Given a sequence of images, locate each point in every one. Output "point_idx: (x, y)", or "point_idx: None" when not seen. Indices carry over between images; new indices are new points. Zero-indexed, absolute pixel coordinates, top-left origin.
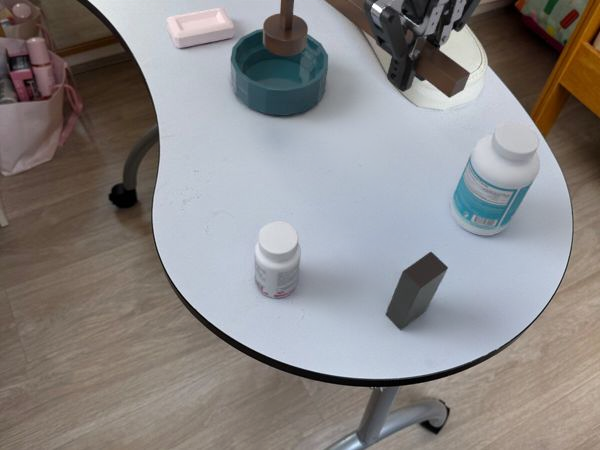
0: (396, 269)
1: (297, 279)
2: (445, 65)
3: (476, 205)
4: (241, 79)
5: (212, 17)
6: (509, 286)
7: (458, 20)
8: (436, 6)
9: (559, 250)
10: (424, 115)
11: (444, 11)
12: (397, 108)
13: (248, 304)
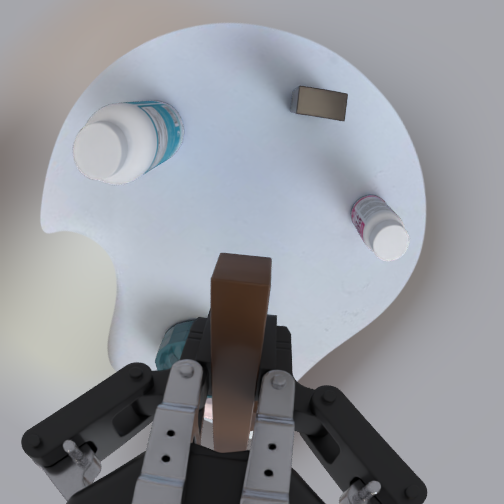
0: (277, 140)
1: (365, 199)
2: (242, 328)
3: (170, 129)
4: None
5: (205, 412)
6: (202, 55)
7: (142, 390)
8: (287, 499)
9: (129, 56)
10: (112, 249)
11: (200, 445)
12: (128, 271)
13: (400, 213)
